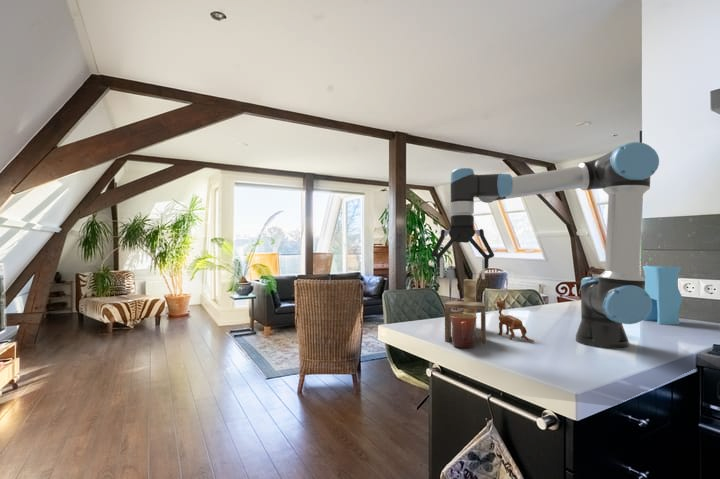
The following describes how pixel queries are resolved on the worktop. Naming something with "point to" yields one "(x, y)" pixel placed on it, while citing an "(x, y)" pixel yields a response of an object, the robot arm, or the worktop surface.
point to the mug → (463, 330)
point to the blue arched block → (663, 293)
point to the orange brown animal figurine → (510, 322)
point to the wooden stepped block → (470, 296)
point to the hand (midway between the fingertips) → (462, 278)
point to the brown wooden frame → (466, 306)
